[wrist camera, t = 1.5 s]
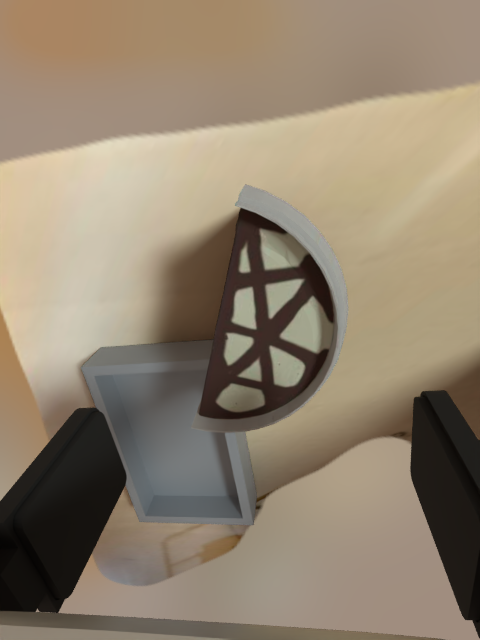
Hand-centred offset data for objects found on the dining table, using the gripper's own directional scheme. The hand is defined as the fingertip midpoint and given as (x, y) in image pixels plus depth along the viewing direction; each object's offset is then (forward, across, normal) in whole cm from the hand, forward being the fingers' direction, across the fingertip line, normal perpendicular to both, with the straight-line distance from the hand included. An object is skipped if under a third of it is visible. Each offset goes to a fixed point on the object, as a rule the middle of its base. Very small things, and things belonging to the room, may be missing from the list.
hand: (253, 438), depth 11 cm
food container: (+16, -1, 0) cm, 16 cm away
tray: (+16, +9, +13) cm, 22 cm away
